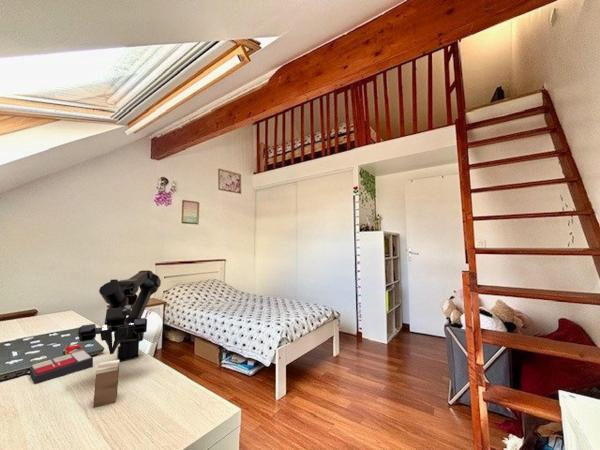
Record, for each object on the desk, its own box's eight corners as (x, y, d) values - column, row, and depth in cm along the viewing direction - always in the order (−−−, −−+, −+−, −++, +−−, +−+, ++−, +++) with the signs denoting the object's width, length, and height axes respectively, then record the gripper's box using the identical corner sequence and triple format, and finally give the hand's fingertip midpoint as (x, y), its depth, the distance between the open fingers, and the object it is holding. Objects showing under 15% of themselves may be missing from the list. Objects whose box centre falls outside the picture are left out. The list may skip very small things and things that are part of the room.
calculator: (29, 364, 88) (84, 348, 100) (29, 377, 88) (84, 359, 100) (35, 374, 81) (93, 355, 93) (34, 387, 81) (93, 367, 93)
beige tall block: (96, 398, 74) (98, 363, 75) (117, 393, 76) (119, 359, 77) (93, 408, 70) (95, 370, 70) (115, 402, 72) (117, 366, 73)
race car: (85, 359, 100) (86, 348, 101) (66, 363, 96) (67, 352, 96) (79, 349, 109) (79, 340, 109) (62, 353, 105) (62, 343, 105)
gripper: (81, 300, 82) (69, 347, 71) (148, 295, 91) (146, 335, 81) (85, 319, 88) (74, 364, 77) (147, 312, 97) (145, 352, 87)
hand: (111, 353), depth 80 cm, fingers closed
